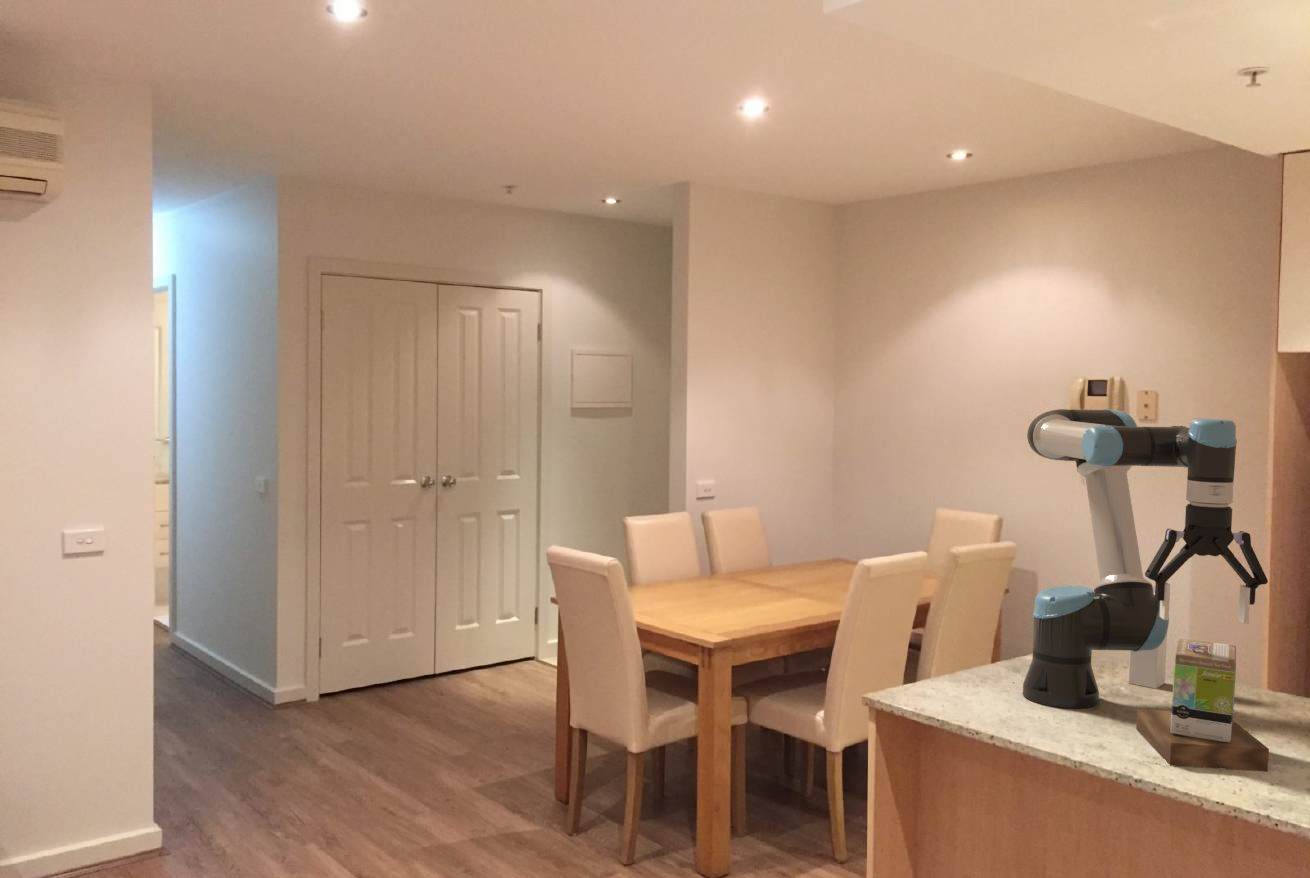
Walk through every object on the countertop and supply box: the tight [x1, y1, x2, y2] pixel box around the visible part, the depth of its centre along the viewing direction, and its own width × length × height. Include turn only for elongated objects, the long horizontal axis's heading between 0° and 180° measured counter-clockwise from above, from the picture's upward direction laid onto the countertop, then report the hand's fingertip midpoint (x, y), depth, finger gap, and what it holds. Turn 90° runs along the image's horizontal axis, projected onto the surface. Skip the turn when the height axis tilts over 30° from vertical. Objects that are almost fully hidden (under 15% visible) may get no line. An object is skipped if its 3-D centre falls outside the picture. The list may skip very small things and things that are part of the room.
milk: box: [1128, 585, 1168, 689], centre depth 242 cm, size 6×6×22 cm
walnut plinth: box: [1136, 708, 1270, 773], centre depth 198 cm, size 16×20×4 cm
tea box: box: [1170, 638, 1237, 742], centre depth 198 cm, size 15×10×15 cm, turn 152°
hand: (1203, 620), depth 198 cm, fingers open, 13 cm apart
